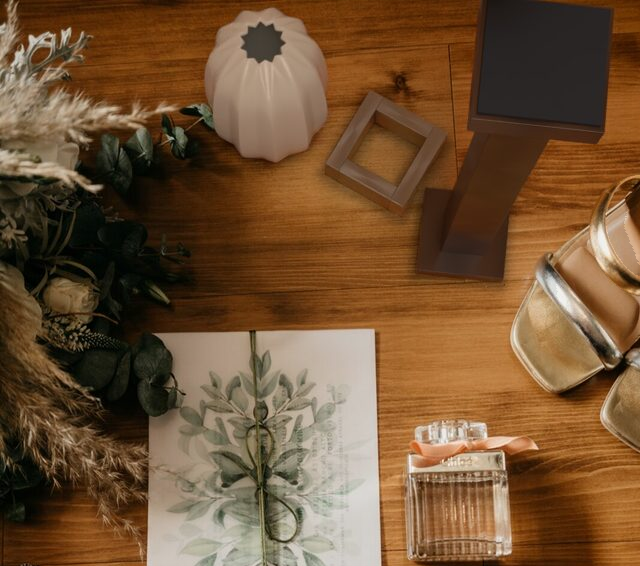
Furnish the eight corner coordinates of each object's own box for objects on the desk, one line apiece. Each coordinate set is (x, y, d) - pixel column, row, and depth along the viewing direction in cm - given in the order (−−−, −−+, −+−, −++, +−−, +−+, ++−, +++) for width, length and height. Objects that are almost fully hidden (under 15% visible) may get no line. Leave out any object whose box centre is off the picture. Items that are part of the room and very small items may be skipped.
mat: (609, 12, 54) (610, 9, 54) (599, 127, 53) (601, 125, 53) (487, -1, 54) (488, -4, 54) (476, 114, 53) (477, 111, 53)
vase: (319, 182, 85) (319, 114, 71) (203, 164, 85) (182, 93, 72) (337, 73, 86) (341, -13, 73) (223, 56, 86) (205, -34, 73)
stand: (444, 144, 85) (448, 132, 83) (401, 217, 84) (403, 207, 82) (368, 102, 86) (370, 89, 83) (324, 174, 85) (325, 163, 82)
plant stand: (508, 201, 85) (614, 7, 54) (501, 283, 84) (605, 133, 53) (424, 192, 85) (482, -7, 54) (415, 273, 84) (470, 118, 53)
